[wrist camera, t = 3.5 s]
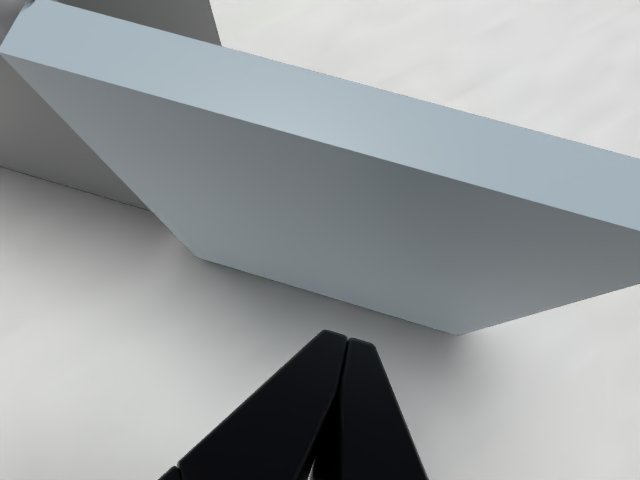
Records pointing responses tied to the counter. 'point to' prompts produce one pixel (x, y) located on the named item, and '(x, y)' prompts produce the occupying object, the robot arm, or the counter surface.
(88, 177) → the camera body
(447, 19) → the counter surface
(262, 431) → the robot arm
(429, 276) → the side door
